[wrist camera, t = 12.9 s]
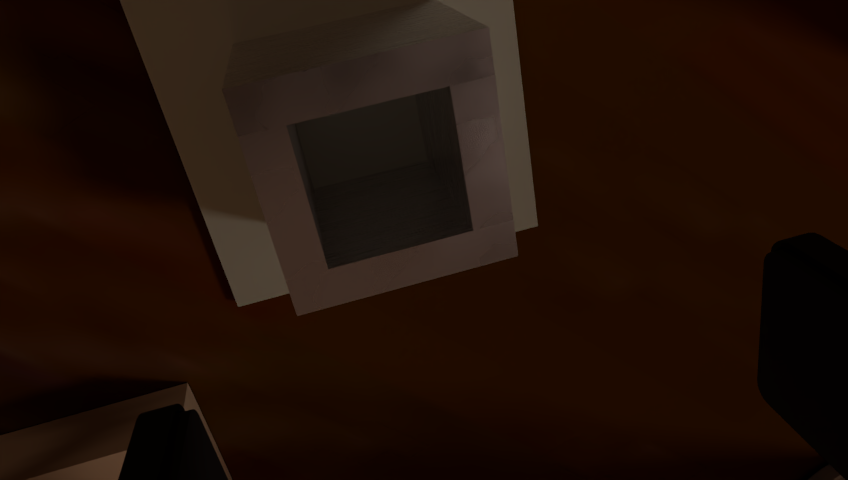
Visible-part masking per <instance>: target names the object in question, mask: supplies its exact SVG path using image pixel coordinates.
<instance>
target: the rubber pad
mask: <svg viewBox="0 0 848 480" xmlns="http://www.w3.org/2000/svg"><path fill="white" fill-rule="evenodd" d="M420 1H425V0H120V2H121V5H122V8H123V10H124V13H125V15H126V18H127V21H128V23H129V26H130V28H131V31H132V33H133V36H134V39H135V41H136V44H137V46H138V49H139V52H140V54H141V57H142V59H143V62H144V65H145V67H146V70H147V72H148V75H149V77H150V80H151V83H152V85H153V88H154V90H155V93H156V96H157V98H158V101H159V103H160V106H161V109H162V111H163V114H164V116H165V119H166V121H167V124H168V127H169V129H170V132H171V134H172V137H173V140H174V142H175V145H176V147H177V150H178V153H179V155H180V158H181V160H182V163H183V166H184V168H185V171H186V173H187V176H188V178H189V181H190V184H191V186H192V189H193V191H194V194H195V197H196V199H197V202H198V204H199V207H200V210H201V212H202V215H203V217H204V220H205V222H206V225H207V228H208V230H209V233H210V235H211V238H212V241H213V243H214V246H215V248H216V251H217V254H218V256H219V259H220V261H221V264H222V266H223V269H224V272H225V274H226V277H227V279H228V282H229V285H230V287H231V290H232V292H233V295H234V298H235V300H236V303H237V305H238V307H240V306H244V305H247V304H251V303H255V302H258V301H262V300H266V299H269V298H273V297H277V296H280V295H284V294H288V293H289V290H288V287H287V284H286V281H285V278H284V275H283V272H282V269H281V266H280V263H279V260H278V257H277V254H276V251H275V248H274V245H273V242H272V239H271V236H270V233H269V230H268V227H267V224H266V221H265V218H264V215H263V212H262V209H261V206H260V203H259V200H258V197H257V194H256V191H255V188H254V185H253V182H252V179H251V176H250V173H249V170H248V167H247V164H246V161H245V158H244V155H243V152H242V149H241V146H240V143H239V140H238V137H237V134H236V131H235V128H234V125H233V122H232V119H231V116H230V113H229V110H228V107H227V104H226V101H225V98H224V95H223V92H222V86H223V82H224V78H225V74H226V69H227V65H228V61H229V57H230V52H231V48H232V44H234V43H239V42H243V41H248V40H252V39H257V38H261V37H265V36H270V35H274V34H279V33H283V32H288V31H292V30H296V29H301V28H305V27H310V26H314V25H319V24H323V23H327V22H332V21H336V20H341V19H345V18H350V17H354V16H358V15H363V14H367V13H372V12H376V11H381V10H385V9H389V8H394V7H398V6H403V5H407V4H412V3H416V2H420ZM438 1H440V2H442V3H443V4H445V5H447V6H449V7H451V8H453V9H455V10H457V11H459V12H461V13H463V14H465V15H466V16H468V17H470V18H472V19H474V20H476V21H478V22H480V23H482V24H484V25H486V26H488V27H489V32H490V39H491V47H492V55H493V63H494V71H495V79H496V86H497V94H498V102H499V110H500V118H501V126H502V133H503V141H504V149H505V157H506V165H507V173H508V180H509V188H510V196H511V204H512V212H513V220H514V227H515V232H517V231H521V230H524V229H528V228H532V227H535V226H538V223H537V214H536V205H535V196H534V187H533V178H532V169H531V160H530V151H529V142H528V133H527V124H526V115H525V106H524V97H523V88H522V79H521V70H520V61H519V52H518V43H517V34H516V25H515V16H514V7H513V0H438ZM295 124H296V128H297V131H298V135H299V138H300V142H301V145H302V149H303V152H304V156H305V159H306V163H307V166H308V170H309V173H310V177H311V180H312V184H313V187H314V189H315V188H319V187H323V186H327V185H331V184H335V183H339V182H343V181H347V180H350V179H354V178H358V177H362V176H366V175H370V174H374V173H378V172H382V171H386V170H390V169H394V168H398V167H402V166H406V165H410V164H414V163H418V162H422V161H426V160H427V156H426V151H425V145H424V140H423V135H422V129H421V124H420V119H419V114H418V108H417V103H416V98H415V95H411V96H407V97H402V98H398V99H394V100H390V101H386V102H382V103H378V104H373V105H369V106H365V107H361V108H357V109H353V110H349V111H344V112H340V113H336V114H332V115H328V116H324V117H319V118H315V119H311V120H307V121H303V122H299V123H295Z"/></svg>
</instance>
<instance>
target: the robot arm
mask: <svg viewBox="0 0 848 480" xmlns="http://www.w3.org/2000/svg"><path fill="white" fill-rule="evenodd" d="M757 381H758V387H759V390H760V393H761V395H762V396H763V398H764V400H765V401H766V402H767V403H768V404H769V405H770V406H771V407H772V408H773V409H774V410H775V411H776V412H777V413H778V414H779V415H780V416H781V417H782V418H783V419H784V420H785V421H786V422H787V423H788V424H789V425H790V426H791V427H792V428H793V429H794V430H795V431H796V432H797V433H798V434H799V435H800V436H801V437H802V438H803V439H804V440H805V441H806V442H807V443H808V444H809V445H810V446H811V447H813V448H814V449H815V450H816V451H817V452H818V453H819V454H820V455H821V456H822V457H823V458H824V459H825V460H826V461H827V462H828V463H829V464H828V465H826V466H825V467H823V468H822V469H820V470H819V471H818V472H816V473H815V474H814V475H812V476H811V477H810V478H808V479H807V480H848V251H847V250H845V249H844V248H842V247H840V246H838V245H837V244H835V243H833V242H831V241H830V240H828V239H826V238H824V237H823V236H821V235H819V234H816V233H806V234H803V235H799V236H795V237H792V238H788V239H784V240H781V241H778V242H776V243H775V244H774V245H773V247H772V250H771V252H770V253H768V254H767V255H766V257H765V260H764V270H763V288H762V306H761V324H760V342H759V360H758V377H757ZM118 480H228V478H227V476H226V474H225V471H224V469H223V467H222V465H221V462H220V460H219V458H218V456H217V454H216V451H215V449H214V447H213V445H212V442H211V440H210V438H209V436H208V433H207V431H206V429H205V427H204V425H203V422H202V420H201V418H200V416H199V414H198V412H197V411H196V410H195V409H191V410H188V411H185V409H184V408H183V407H182V406H181V404H173V405H169V406H166V407H162V408H158V409H155V410H151V411H147V412H143V413H141V414H140V415H139V416H138V418H137V420H136V423H135V426H134V429H133V432H132V436H131V439H130V442H129V446H128V449H127V452H126V455H125V459H124V462H123V465H122V468H121V472H120V475H119V478H118Z"/></svg>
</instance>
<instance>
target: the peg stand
mask: <svg viewBox="0 0 848 480" xmlns="http://www.w3.org/2000/svg"><path fill="white" fill-rule="evenodd" d="M173 404H181V406H182V407H183V408H184V409H185V411H188V410H191V409H195V410H196V411H197V412H198V414H199V416H200V418H201V420H202V422H203V425H204V427H205V429H206V431H207V433H208V436H209V438H210V440H211V442H212V445H213V447H214V449H215V451H216V454H217V456H218V458H219V460H220V462H221V465H222V467H223V469H224V471H225V474H226V476H227V478H228V480H232V477H231V475H230V473H229V471H228V469H227V467H226V464H225V462H224V460H223V458H222V456H221V454H220V452H219V449H218V447H217V445H216V443H215V441H214V439H213V436H212V434H211V432H210V430H209V428H208V426H207V423H206V421H205V419H204V417H203V415H202V413H201V410H200V408H199V406H198V404H197V402H196V400H195V397H194V395H193V393H192V391H191V389H190V387H189V384H188V383H185V384H182V385H178V386H174V387H171V388H167V389H164V390H160V391H157V392H153V393H150V394H146V395H142V396H139V397H135V398H132V399H128V400H125V401H121V402H117V403H114V404H110V405H107V406H103V407H100V408H96V409H93V410H89V411H85V412H82V413H78V414H75V415H71V416H68V417H64V418H60V419H57V420H53V421H50V422H46V423H43V424H39V425H36V426H32V427H28V428H25V429H21V430H18V431H14V432H11V433H7V434H3V435H0V480H118V478H119V475H120V472H121V468H122V465H123V462H124V459H125V455H126V452H127V449H128V446H129V442H130V439H131V436H132V432H133V429H134V426H135V423H136V420H137V418H138V416H139V415H140V414H141V413H143V412H147V411H151V410H155V409H158V408H162V407H166V406H169V405H173Z"/></svg>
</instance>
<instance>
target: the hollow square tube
mask: <svg viewBox="0 0 848 480" xmlns="http://www.w3.org/2000/svg"><path fill="white" fill-rule="evenodd" d="M222 92H223V95H224V98H225V101H226V104H227V107H228V110H229V113H230V116H231V119H232V122H233V125H234V128H235V131H236V134H237V137H238V140H239V143H240V146H241V149H242V152H243V155H244V158H245V161H246V164H247V167H248V170H249V173H250V176H251V179H252V182H253V185H254V188H255V191H256V194H257V197H258V200H259V203H260V206H261V209H262V212H263V215H264V218H265V221H266V224H267V227H268V230H269V233H270V236H271V239H272V242H273V245H274V248H275V251H276V254H277V257H278V260H279V263H280V266H281V269H282V272H283V275H284V278H285V281H286V284H287V287H288V290H289V293H290V296H291V299H292V302H293V305H294V308H295V311H296V314H297V316H299V315H303V314H307V313H310V312H314V311H318V310H321V309H325V308H329V307H332V306H336V305H340V304H343V303H347V302H351V301H354V300H358V299H362V298H365V297H369V296H373V295H376V294H380V293H384V292H387V291H391V290H395V289H398V288H402V287H406V286H409V285H413V284H417V283H420V282H424V281H428V280H431V279H435V278H439V277H442V276H446V275H450V274H453V273H457V272H461V271H464V270H468V269H472V268H475V267H479V266H483V265H486V264H490V263H494V262H497V261H501V260H505V259H508V258H512V257H516V256H518V251H517V243H516V235H515V227H514V220H513V212H512V204H511V196H510V188H509V180H508V173H507V165H506V157H505V149H504V141H503V133H502V126H501V118H500V110H499V102H498V94H497V86H496V79H495V71H494V63H493V55H492V47H491V39H490V32H489V27H488V26H486V25H484V24H482V23H480V22H478V21H476V20H474V19H472V18H470V17H468V16H466V15H465V14H463V13H461V12H459V11H457V10H455V9H453V8H451V7H449V6H447V5H445V4H443V3H442V2H440V1H438V0H425V1H420V2H416V3H412V4H407V5H403V6H398V7H394V8H389V9H385V10H381V11H376V12H372V13H367V14H363V15H358V16H354V17H350V18H345V19H341V20H336V21H332V22H327V23H323V24H319V25H314V26H310V27H305V28H301V29H296V30H292V31H288V32H283V33H279V34H274V35H270V36H265V37H261V38H257V39H252V40H248V41H243V42H239V43H234V44H232V48H231V52H230V57H229V61H228V65H227V69H226V74H225V78H224V82H223V86H222ZM411 95H415V98H416V103H417V108H418V114H419V119H420V124H421V129H422V135H423V140H424V145H425V151H426V156H427V160H426V161H422V162H418V163H414V164H410V165H406V166H402V167H398V168H394V169H390V170H386V171H382V172H378V173H374V174H370V175H366V176H362V177H358V178H354V179H350V180H347V181H343V182H339V183H335V184H331V185H327V186H323V187H319V188H315V189H314V187H313V184H312V180H311V177H310V173H309V170H308V166H307V163H306V159H305V156H304V152H303V149H302V145H301V142H300V138H299V135H298V131H297V128H296V124H295V123H299V122H303V121H307V120H311V119H315V118H319V117H324V116H328V115H332V114H336V113H340V112H344V111H349V110H353V109H357V108H361V107H365V106H369V105H373V104H378V103H382V102H386V101H390V100H394V99H398V98H402V97H407V96H411Z"/></svg>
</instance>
